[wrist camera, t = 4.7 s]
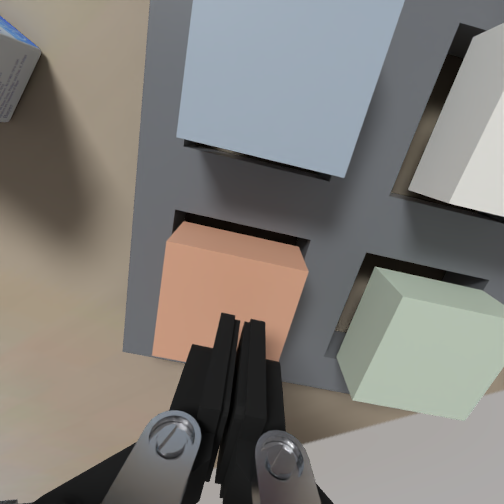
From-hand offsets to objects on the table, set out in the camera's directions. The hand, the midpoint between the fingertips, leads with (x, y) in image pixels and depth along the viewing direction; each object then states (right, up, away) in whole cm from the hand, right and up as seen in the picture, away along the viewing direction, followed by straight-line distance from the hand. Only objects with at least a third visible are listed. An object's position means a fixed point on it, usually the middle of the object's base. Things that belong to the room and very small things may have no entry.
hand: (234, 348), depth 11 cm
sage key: (+9, 0, +5) cm, 11 cm away
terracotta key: (-1, +2, +5) cm, 5 cm away
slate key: (+2, +11, +1) cm, 11 cm away
